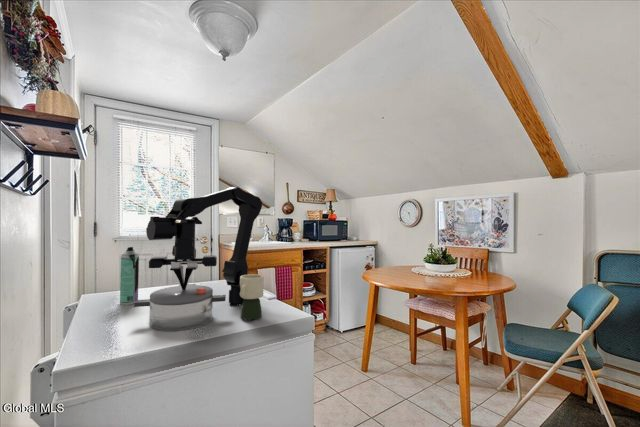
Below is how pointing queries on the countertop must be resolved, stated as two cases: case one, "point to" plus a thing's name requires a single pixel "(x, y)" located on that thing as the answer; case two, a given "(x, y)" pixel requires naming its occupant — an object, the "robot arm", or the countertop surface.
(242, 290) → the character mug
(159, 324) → the cooker pot
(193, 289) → the cooker lid
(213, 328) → the countertop surface
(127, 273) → the spray can
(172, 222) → the robot arm
